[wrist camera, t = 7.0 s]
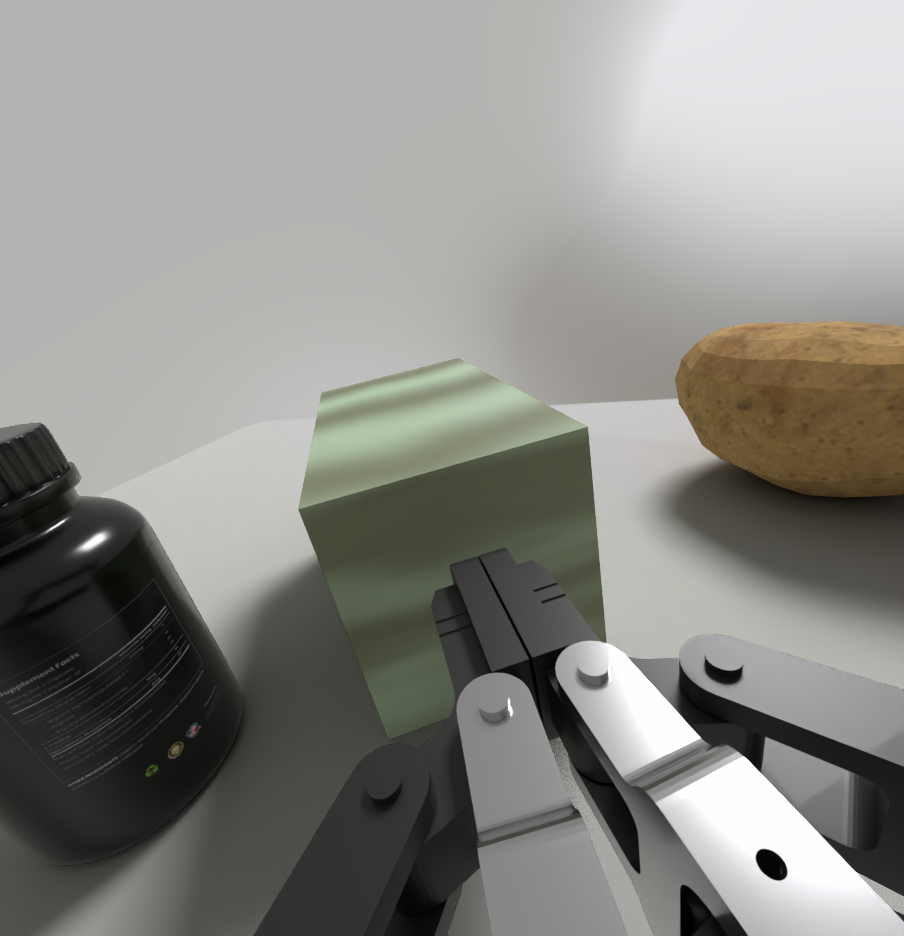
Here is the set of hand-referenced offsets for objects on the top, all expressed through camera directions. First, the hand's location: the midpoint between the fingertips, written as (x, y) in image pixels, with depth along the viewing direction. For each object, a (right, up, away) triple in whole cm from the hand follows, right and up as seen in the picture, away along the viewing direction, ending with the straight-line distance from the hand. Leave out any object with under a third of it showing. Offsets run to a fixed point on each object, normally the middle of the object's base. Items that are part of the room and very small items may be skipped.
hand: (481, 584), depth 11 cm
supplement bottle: (-11, -8, +5) cm, 14 cm away
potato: (+18, +2, +11) cm, 21 cm away
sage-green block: (-1, -2, +11) cm, 11 cm away
